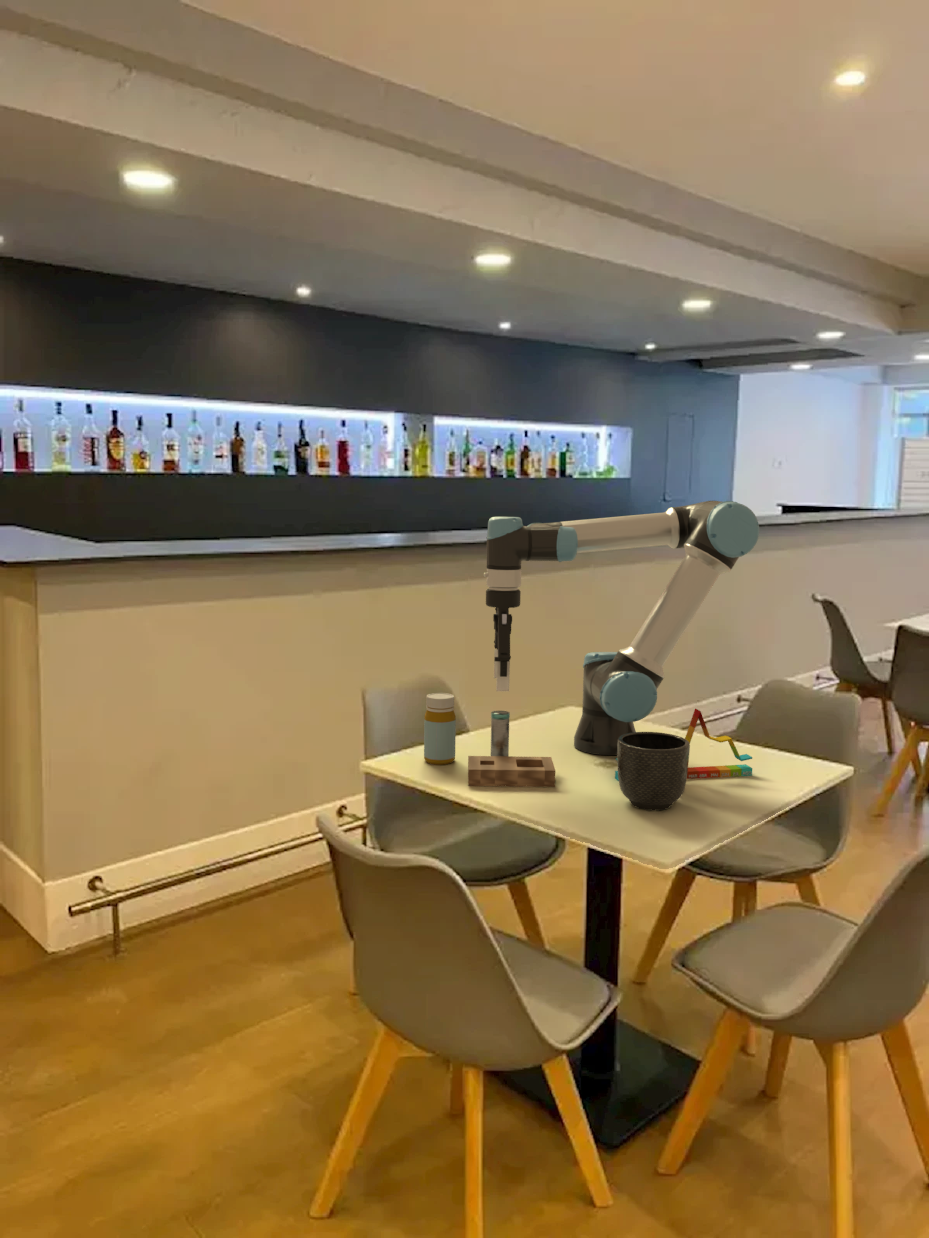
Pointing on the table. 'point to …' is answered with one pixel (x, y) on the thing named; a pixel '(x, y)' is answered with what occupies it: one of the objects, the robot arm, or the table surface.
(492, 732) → the clear spice jar
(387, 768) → the table surface
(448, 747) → the bottle
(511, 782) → the socket block
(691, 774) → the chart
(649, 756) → the planter
